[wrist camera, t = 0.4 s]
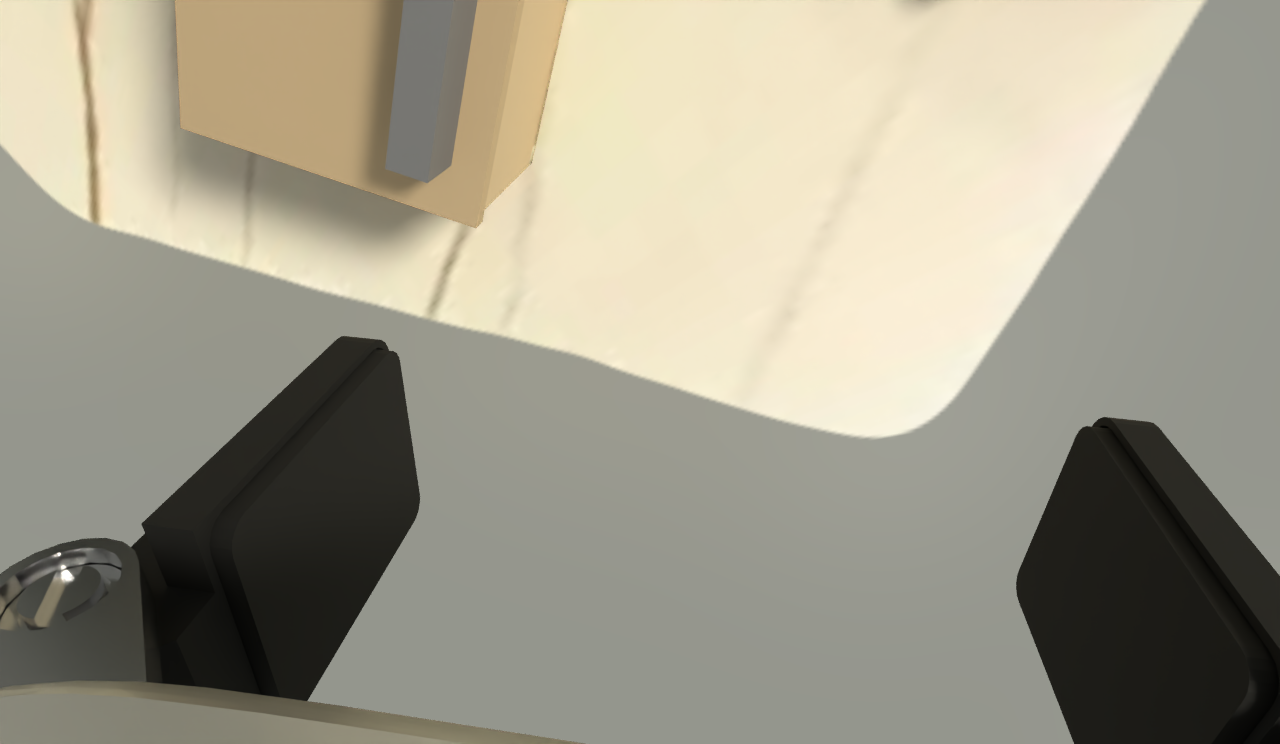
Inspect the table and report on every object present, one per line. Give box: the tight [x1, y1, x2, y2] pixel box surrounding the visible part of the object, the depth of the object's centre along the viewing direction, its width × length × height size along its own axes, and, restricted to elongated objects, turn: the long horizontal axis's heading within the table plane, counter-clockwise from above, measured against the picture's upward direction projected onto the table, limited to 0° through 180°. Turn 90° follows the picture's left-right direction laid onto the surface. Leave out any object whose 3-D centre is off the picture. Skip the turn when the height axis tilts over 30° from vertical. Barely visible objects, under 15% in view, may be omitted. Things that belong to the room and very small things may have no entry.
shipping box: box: [485, 0, 567, 209], centre depth 31 cm, size 12×12×8 cm
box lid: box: [175, 0, 525, 228], centre depth 26 cm, size 12×12×3 cm
